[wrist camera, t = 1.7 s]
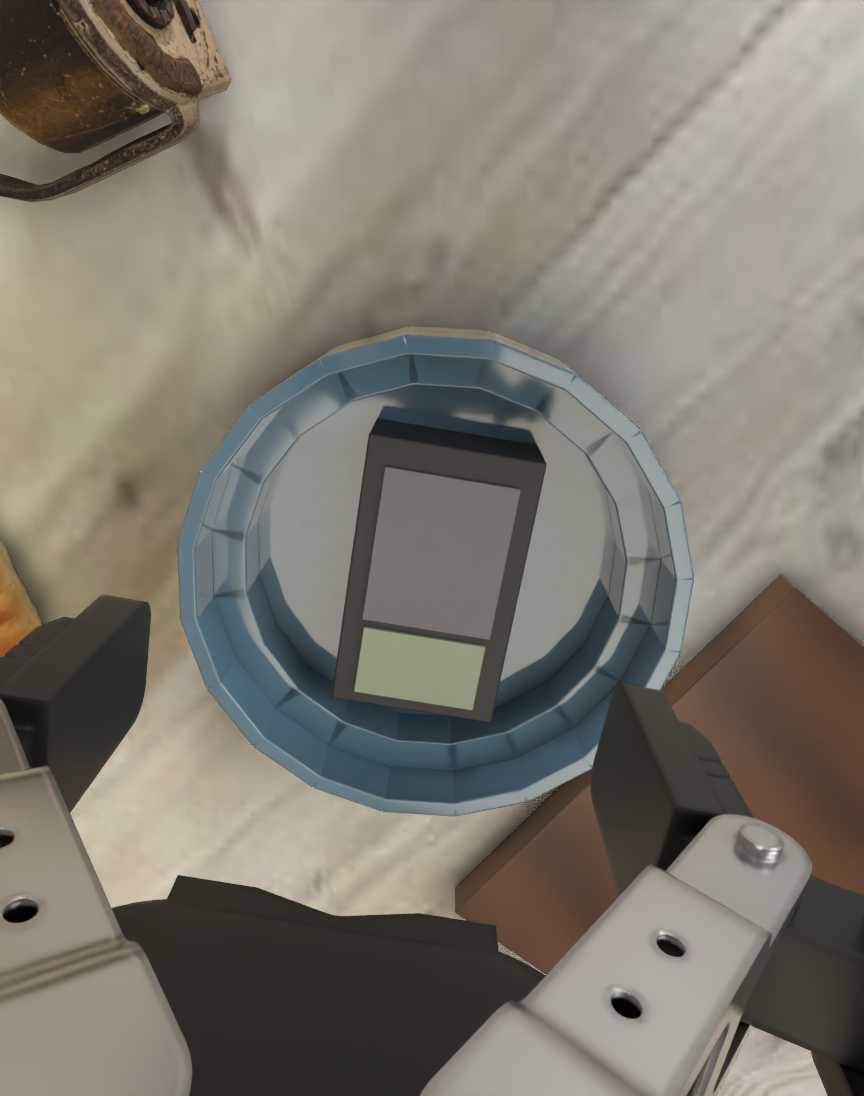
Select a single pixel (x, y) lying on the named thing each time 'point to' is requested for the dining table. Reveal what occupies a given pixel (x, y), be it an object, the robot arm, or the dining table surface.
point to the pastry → (14, 606)
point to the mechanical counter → (103, 79)
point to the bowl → (325, 555)
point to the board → (745, 750)
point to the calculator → (436, 568)
